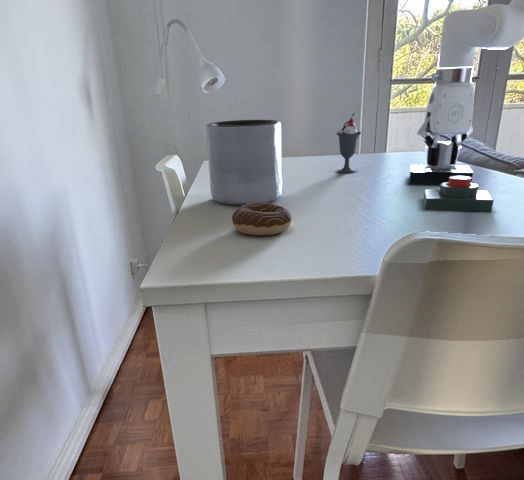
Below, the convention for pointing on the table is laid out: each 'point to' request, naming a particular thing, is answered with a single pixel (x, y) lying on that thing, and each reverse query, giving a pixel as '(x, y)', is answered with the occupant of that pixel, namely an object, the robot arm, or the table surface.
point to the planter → (245, 161)
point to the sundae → (348, 143)
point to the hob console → (435, 174)
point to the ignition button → (459, 181)
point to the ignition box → (458, 198)
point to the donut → (261, 219)
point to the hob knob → (444, 155)
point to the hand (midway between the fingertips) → (441, 163)
